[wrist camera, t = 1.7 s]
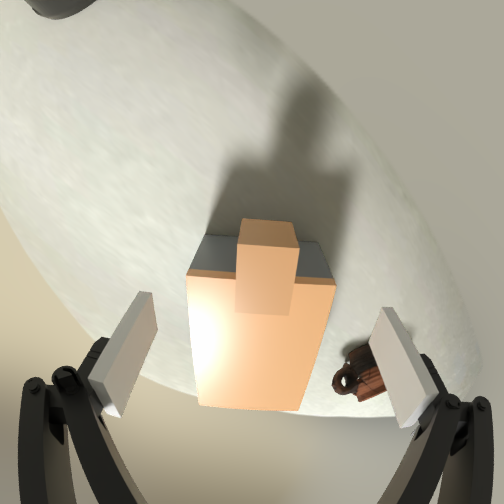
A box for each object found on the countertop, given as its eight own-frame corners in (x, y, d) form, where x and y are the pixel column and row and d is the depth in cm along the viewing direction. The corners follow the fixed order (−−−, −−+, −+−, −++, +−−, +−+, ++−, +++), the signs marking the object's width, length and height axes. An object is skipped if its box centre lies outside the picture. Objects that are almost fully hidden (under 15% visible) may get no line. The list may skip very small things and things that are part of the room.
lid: (189, 212, 23) (169, 239, 18) (342, 223, 23) (363, 253, 18) (201, 393, 34) (194, 428, 29) (297, 399, 34) (300, 434, 29)
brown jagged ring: (397, 331, 39) (415, 376, 34) (373, 350, 46) (387, 390, 41) (331, 354, 36) (349, 407, 32) (314, 370, 44) (328, 413, 39)
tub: (204, 234, 32) (188, 268, 25) (318, 242, 32) (333, 278, 25) (208, 356, 41) (200, 397, 33) (293, 361, 41) (297, 403, 33)
